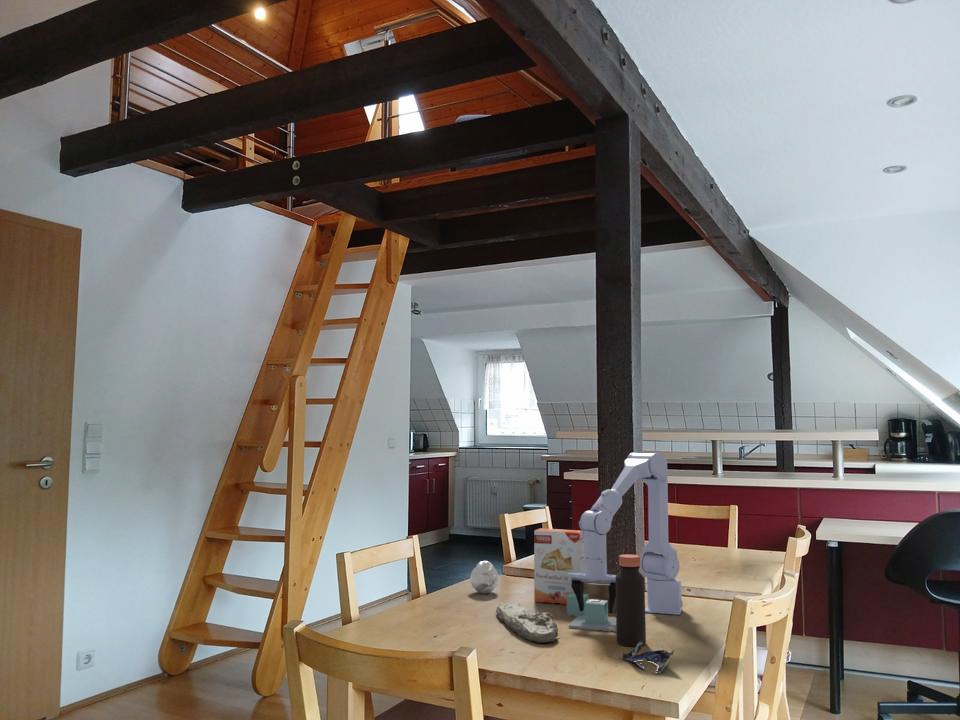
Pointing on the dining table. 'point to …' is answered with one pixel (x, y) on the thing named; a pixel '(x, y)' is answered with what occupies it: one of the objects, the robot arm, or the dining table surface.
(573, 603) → the blank cube
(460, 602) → the dining table surface
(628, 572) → the bottle
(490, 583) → the grey egg-shaped stone
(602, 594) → the walnut screen
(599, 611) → the lettered cube
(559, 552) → the cracker box
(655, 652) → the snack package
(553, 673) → the dining table surface
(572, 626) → the slate tile
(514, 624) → the elongated rock
